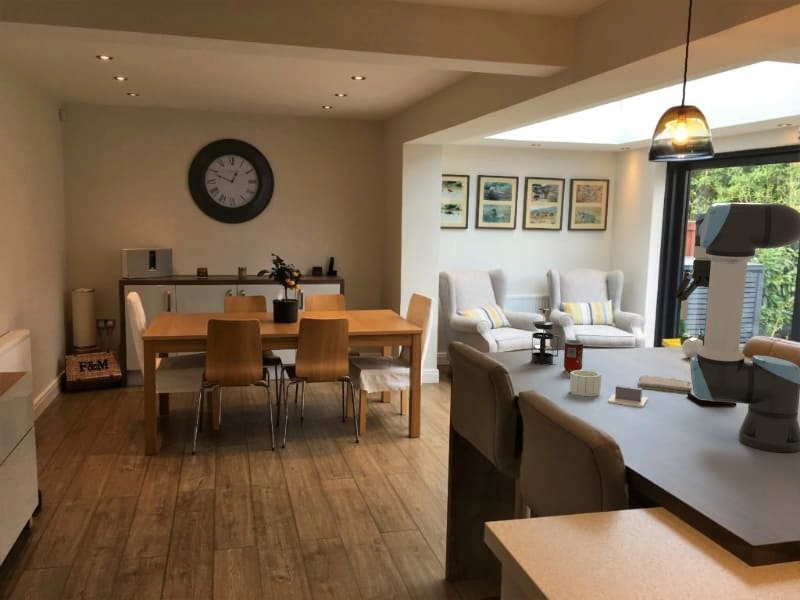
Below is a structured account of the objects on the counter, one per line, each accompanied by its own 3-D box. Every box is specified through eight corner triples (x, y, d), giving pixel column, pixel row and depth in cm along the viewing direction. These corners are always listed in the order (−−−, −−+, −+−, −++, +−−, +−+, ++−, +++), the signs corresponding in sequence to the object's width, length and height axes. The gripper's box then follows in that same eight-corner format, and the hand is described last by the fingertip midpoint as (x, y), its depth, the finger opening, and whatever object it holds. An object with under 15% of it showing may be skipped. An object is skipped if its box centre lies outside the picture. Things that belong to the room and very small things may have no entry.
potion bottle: (678, 359, 286) (715, 367, 280) (680, 350, 278) (718, 358, 272) (682, 341, 290) (718, 348, 284) (684, 331, 282) (722, 338, 276)
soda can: (581, 374, 252) (583, 343, 250) (563, 372, 254) (564, 342, 252) (582, 370, 258) (583, 340, 257) (564, 368, 260) (565, 339, 259)
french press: (528, 363, 269) (530, 309, 266) (530, 359, 278) (531, 306, 275) (557, 365, 266) (559, 310, 263) (558, 360, 275) (560, 307, 272)
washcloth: (691, 395, 224) (691, 386, 224) (636, 389, 231) (637, 380, 231) (691, 387, 235) (691, 379, 234) (639, 382, 242) (639, 374, 242)
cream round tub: (596, 398, 218) (597, 378, 217) (566, 394, 222) (567, 374, 222) (602, 391, 226) (603, 372, 225) (574, 387, 231) (575, 368, 230)
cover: (642, 409, 207) (643, 393, 206) (607, 404, 212) (608, 388, 212) (648, 401, 217) (648, 386, 216) (614, 396, 222) (615, 381, 221)
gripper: (748, 261, 206) (743, 326, 209) (680, 257, 228) (676, 316, 230) (734, 261, 202) (729, 328, 205) (666, 257, 224) (662, 317, 226)
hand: (701, 321), depth 218 cm, fingers open, 13 cm apart
